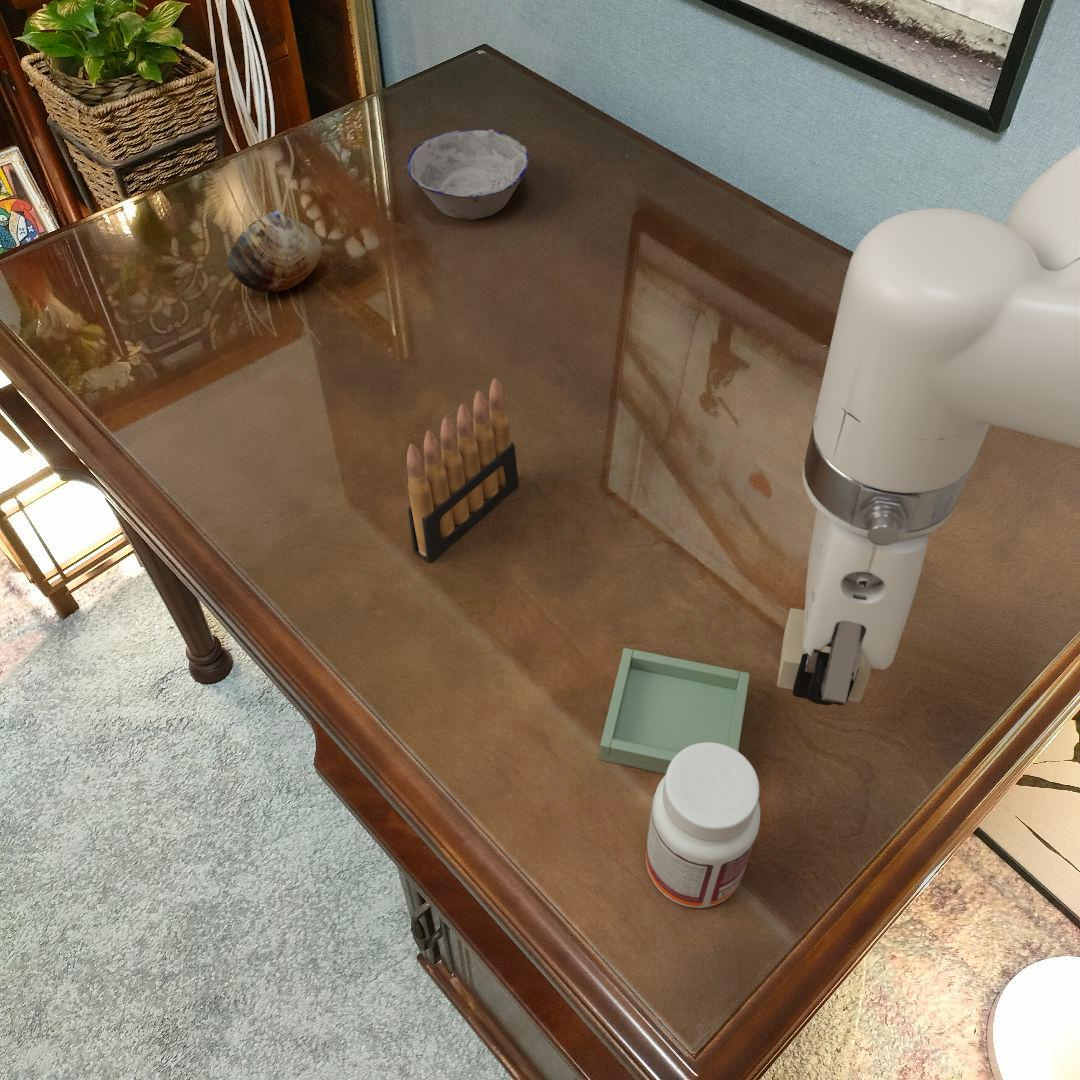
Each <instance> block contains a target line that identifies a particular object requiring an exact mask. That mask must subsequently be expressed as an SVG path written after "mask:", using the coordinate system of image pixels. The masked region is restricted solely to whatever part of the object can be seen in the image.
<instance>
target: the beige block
mask: <svg viewBox="0 0 1080 1080" xmlns="http://www.w3.org/2000/svg"><path fill="white" fill-rule="evenodd" d="M803 627H804V609H801V608H795V607H790V609H789V613H788V616H787V621H786V625H785V629H784V633H783V637H782V644H781V645H782V646H781V653H780V661H779V662H780V663H779V670H778V676H777V684H776V685H777V686H776V687H778V688H783V689H787V690H792V691H793V686H794V682H795V679H796V675H797V672H798V668H799V664H800V661H801V657H802V654H806V653H807V652H806V651H805V649H804V648H803ZM830 650H831V647H828V646H825V647H823V648H822V649H821V652H826V653H830ZM870 677H871V668H869V667H868V665H867V663H866V661H865V658H864V655H863V654H862V657H861V660H860V664H859V668H858V673H857V676H856V679H855V681H854V684H853V687H852V690H851V692H850V695H849V698H848V701H850V702H856V703H861V701H862V698H863V695H864V693H865V690H866V687H867V686H868V682H869V680H870Z"/></svg>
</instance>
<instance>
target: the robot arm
mask: <svg viewBox="0 0 1080 1080" xmlns="http://www.w3.org/2000/svg"><path fill="white" fill-rule="evenodd" d="M827 354H828V355H827V360H826V363H825V368H824V372H823V377H822V382H821V385H820V391H819V395H818V399H817V403H816V408H815V411H814V413H815V414H814V416H813V422H812V426H811V430H810V435H809V439H808V443H807V448H806V453H805V456H804V457H805V458H804V461H803V465H802V472H801V479H802V485H803V489H804V491H805V493H806V496H807V498H808V499H809V502H810V503H811V504H812V506H813V507H814V508H815V509H816V512H815V518H814V523H813V528H812V533H811V541H810V548H809V553H808V554H809V555H808V563H807V573H806V575H807V576H806V584H805V585H806V586H805V598H804V608H803V610H804V627H803V648H804V649H805V651H806V652H807V653H806V654H802V657H801V661H800V664H799V668H798V672H797V675H796V679H795V682H794V686H793V690H792V695H793V696H794V697H795V698H800V699H805V700H808V701H809V702H811V703H812V704H816V705H820V706H821V705H823V706H831V705H837V706H845V705H846V704H847V703H848V701H849V700H848V698H849V695H850V692H851V690H852V687H853V684H854V681H855V679H856V676H857V673H858V668H859V664H860V660H861V657H862V654H863V655H864V658H865V661H866V663H867V665H868V667H869V668H870V669H875V670H881V671H882V670H885V669H887V668H888V667H890V666H892V664H893V662H894V660H895V657H896V654H897V651H898V648H899V645H900V641H901V639H902V635H903V632H904V630H905V626H906V624H907V620H908V617H909V614H910V611H911V609H912V604H913V602H914V599H915V595H916V592H917V589H918V586H919V582H920V578H921V574H922V570H923V566H924V561H925V557H926V553H927V549H928V542H929V538H930V533H932V532H934V531H937V530H938V529H939V528H941V527H942V526H943V525H945V523H947V522H948V521H949V519H951V517H952V516H953V514H954V512H955V510H956V508H957V506H958V503H959V501H960V498H961V496H962V493H963V491H964V489H965V486H966V483H967V482H968V479H969V477H970V475H971V472H972V470H973V467H974V464H975V462H976V459H977V458H978V455H979V452H980V450H981V447H982V444H983V443H984V441H985V438H986V435H987V433H988V430H989V428H990V426H996V427H999V428H1004V429H1007V430H1011V431H1014V432H1019V433H1023V434H1026V435H1030V436H1034V437H1037V438H1042V439H1045V440H1049V441H1052V442H1056V443H1060V444H1063V445H1068V446H1070V447H1071V446H1073V447H1076V448H1078V449H1079V448H1080V145H1078V146H1077V147H1074V149H1072V150H1070V151H1069V152H1068V153H1066V154H1065V155H1064V156H1062V157H1061V158H1060V159H1058V160H1057V161H1056V162H1055V163H1053V164H1052V165H1050V166H1049V168H1047V169H1046V170H1045V171H1044V172H1042V173H1041V174H1040V175H1039V176H1038V177H1037V178H1036V179H1035V180H1034V181H1033V182H1032V183H1031V184H1030V185H1029V186H1028V187H1027V188H1026V189H1025V190H1024V191H1023V193H1022V194H1021V195H1020V196H1019V198H1018V199H1017V200H1016V202H1015V204H1014V205H1013V207H1012V208H1011V210H1010V211H1009V213H1008V216H1007V218H1006V220H1005V223H1002V222H1000V221H998V220H997V219H995V218H991V217H989V216H987V215H984V214H981V213H977V212H974V211H970V210H965V209H959V208H949V207H928V208H920V209H913V210H910V211H906V212H901V213H898V214H897V215H894V216H891V217H889V218H887V219H885V220H883V221H881V222H880V223H878V224H877V225H876V226H874V227H873V228H872V229H871V230H869V231H868V232H867V233H866V234H865V236H864V237H862V239H861V240H860V242H859V243H858V244H857V246H856V248H855V250H854V251H853V253H852V256H851V257H850V261H849V264H848V268H847V270H846V274H845V278H844V283H843V286H842V292H841V296H840V300H839V305H838V309H837V314H836V319H835V323H834V327H833V333H832V337H831V341H830V346H829V351H828V353H827ZM825 646H828V647H831V650H830V653H826V652H821V649H822V648H823V647H825Z"/></svg>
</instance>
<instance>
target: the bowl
mask: <svg viewBox="0 0 1080 1080" xmlns="http://www.w3.org/2000/svg"><path fill="white" fill-rule="evenodd" d="M528 153H529V149H528V148H527V147H526V146H525V145H524V144H521V143H520V142H519V141H518V140H517V139H514V138H513V137H511V136H510V135H508V134H505V133H503V132H502V131H495V129H492V128H490V129H488V130H487V129H486V130H484V129H466V130H465V129H463V130H455V131H449V132H443V133H439V134H437V135H434V136H432V137H430V138H428V139H426V140H424V141H423V142H422V143H420V144H419V145H417V146H415V147H413V150H412V152H411V153H410V154H409V157H408V160H407V165H406V166H407V167H406V168H407V173H408V175H409V177H410V179H411V180H412V181H413V182H414V183H415V184H416V185H417V186H418V187H419V188H420V189H421V190H422V191H423V193H424V194H425V195H426V196H427V198H429V200H430V201H431V203H432V204H433V205H434V206H435V207H436V208H437V209H438V210H439V211H440V212H441V213H443V214H444V215H446V216H448V217H451V218H454V219H459V220H472V221H473V220H479V219H483V218H487V217H490V216H493V215H495V214H497V213H498V212H500V211H502V209H504V208H505V207H506V205H507V204H508V203H509V200H510V199H511V197H512V196H513V194H514V192H515V191H516V189H517V187H518V186H519V184H520V182H521V180H522V179H523V177H524V176H525V174H526V173H527V171H528V169H529V164H530V157H529V156H530V155H529V154H528Z"/></svg>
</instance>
